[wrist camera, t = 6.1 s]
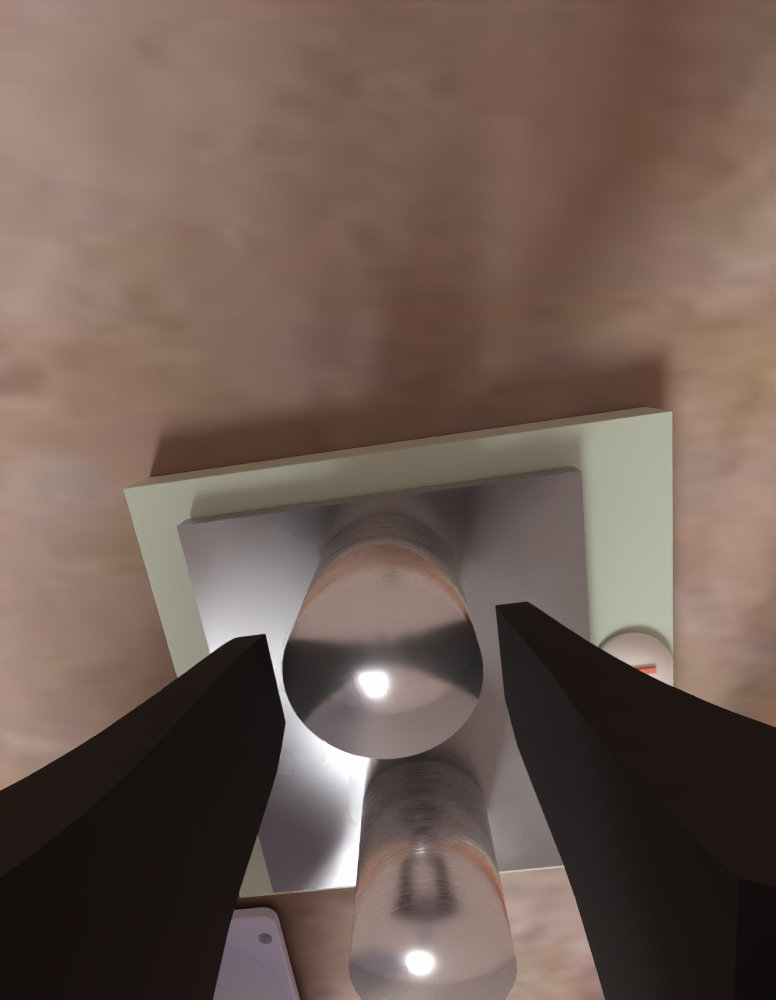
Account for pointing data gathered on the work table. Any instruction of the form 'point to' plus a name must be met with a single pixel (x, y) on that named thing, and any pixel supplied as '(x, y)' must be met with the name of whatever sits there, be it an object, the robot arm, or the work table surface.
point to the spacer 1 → (384, 643)
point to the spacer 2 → (428, 891)
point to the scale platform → (485, 582)
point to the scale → (440, 460)
